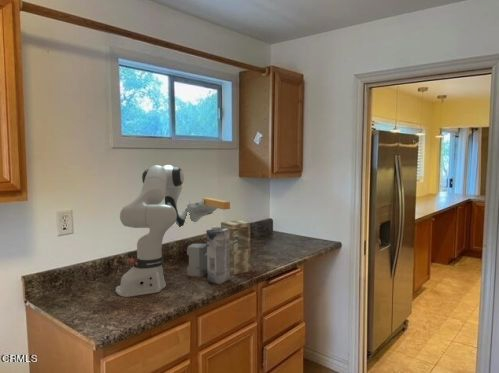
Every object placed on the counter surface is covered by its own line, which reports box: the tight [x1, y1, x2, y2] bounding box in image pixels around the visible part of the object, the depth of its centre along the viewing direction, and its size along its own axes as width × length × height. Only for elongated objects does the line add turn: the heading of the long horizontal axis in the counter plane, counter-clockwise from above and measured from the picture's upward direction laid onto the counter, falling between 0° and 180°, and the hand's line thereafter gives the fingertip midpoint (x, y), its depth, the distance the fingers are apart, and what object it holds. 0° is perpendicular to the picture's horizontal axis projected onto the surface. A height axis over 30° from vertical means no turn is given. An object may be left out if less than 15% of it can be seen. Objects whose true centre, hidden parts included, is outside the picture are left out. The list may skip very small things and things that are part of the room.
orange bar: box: [201, 197, 231, 211], centre depth 215 cm, size 4×24×4 cm, turn 35°
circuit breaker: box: [186, 243, 207, 277], centre depth 195 cm, size 8×14×15 cm, turn 78°
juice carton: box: [206, 225, 231, 285], centre depth 184 cm, size 9×10×27 cm
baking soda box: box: [234, 228, 238, 251], centre depth 239 cm, size 10×6×16 cm
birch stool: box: [220, 219, 252, 276], centre depth 200 cm, size 12×10×26 cm
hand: (208, 200), depth 222 cm, fingers closed on orange bar, 4 cm apart
